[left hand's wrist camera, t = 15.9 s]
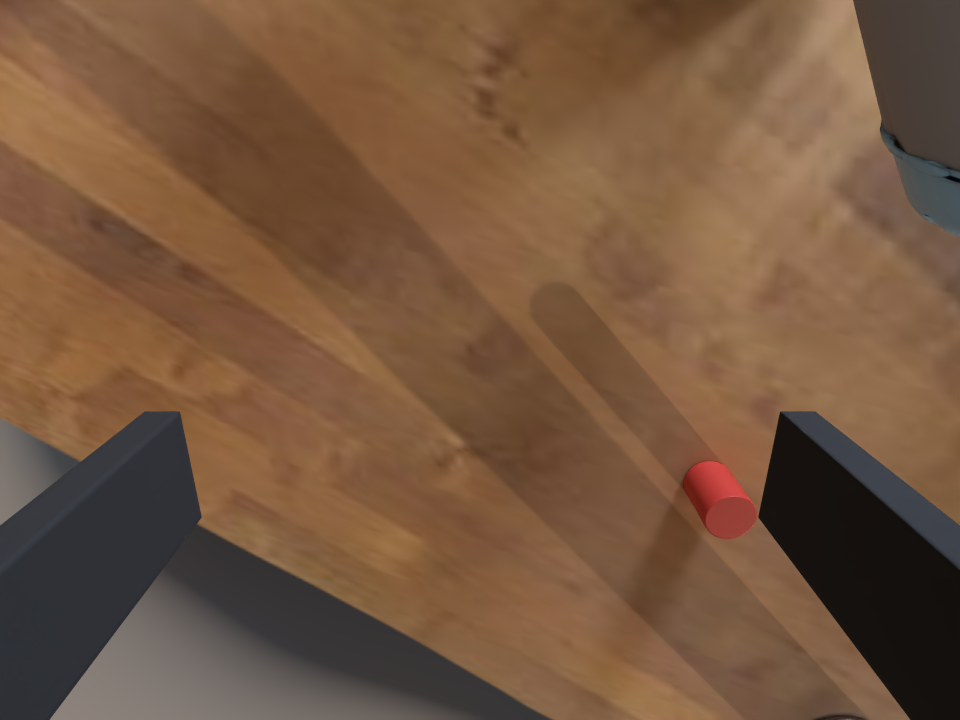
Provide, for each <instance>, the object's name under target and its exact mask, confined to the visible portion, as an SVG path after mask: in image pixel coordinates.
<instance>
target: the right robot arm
mask: <svg viewBox="0 0 960 720" xmlns="http://www.w3.org/2000/svg"><path fill="white" fill-rule="evenodd" d="M820 720H864V719H861V718H858V717H853V716H833V717H827V718H823V719H820Z"/></svg>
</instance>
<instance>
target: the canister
mask: <svg viewBox="0 0 960 720" xmlns="http://www.w3.org/2000/svg"><path fill="white" fill-rule="evenodd" d="M684 489H685V492H686V493H687V495H688V497H689V499H690V500H691V502H692V504H693V506H694V507H695V509H696V511H697V513H698V514H699V516H700V518H701V520H702V521H703V523H704V525H705V527H706V528H707V530H708V531H709V532H710V533H711V534H712V535H714V536H716V537H718V538H722V539H732V538H737V537H739V536H742V535H744V534H745V533H747V532H748V531H749V530H750V529H751V528H752V527H753V525H754V524H755V521H756V518H757V511H756V508H755V505H754V504H753V503H752V501H751V500H750V499H749V497H748V496H747V495H746V493H745V492H744V490H743V489H742V488H741V486H740V485H739V484H738V482H737V481H736V480H735V478H734V477H733V476H732V474H731V473H730V472H729V470H728V469H727V468H726V467H725V466H724V465H723V464H721V463H718V462H714V461H705V462H701V463H699V464H696V465H695V466H693V467H692V468H691V469H690V470H689V471H688V472H687V474H686V476H685V478H684Z"/></svg>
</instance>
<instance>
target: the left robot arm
mask: <svg viewBox="0 0 960 720" xmlns="http://www.w3.org/2000/svg"><path fill="white" fill-rule="evenodd" d="M853 2H854V6H855V10H856V14H857V18H858V22H859V27H860V31H861V35H862V39H863V43H864V47H865V51H866V56H867V60H868V64H869V68H870V72H871V76H872V80H873V85H874V89H875V93H876V97H877V101H878V105H879V110H880V114H881V118H882V121H881V127H880V133H881V137H882V140H883V142H884V144H885V145H886V147H887V148H888V150H889V151H890V152H891V153H893V155H894V158H895V161H896V164H897V167H898V170H899V174H900V177H901V180H902V183H903V186H904V189H905V192H906V195H907V198H908V200H909V202H910V203H911V205H912V206H913V208H914V209H915V210H916V211H917V213H918V214H919V215H920V216H922V217H923V218H924V219H926V220H928V221H930V222H932V223H934V224H936V225H938V226H940V227H942V228H943V229H944V230H945V231H946V232H949V233H951V234H953V235H956V236H959V237H960V0H853ZM200 519H201V512H200V507H199V502H198V497H197V492H196V488H195V483H194V478H193V473H192V468H191V463H190V459H189V454H188V449H187V444H186V439H185V434H184V430H183V425H182V420H181V415H180V412H144V413H142V414H141V415H140V416H139V417H137V418H136V419H135V420H133V421H132V422H131V423H130V424H128V425H127V426H126V427H125V428H123V429H122V430H121V431H120V432H118V433H117V434H116V435H114V436H113V437H112V438H111V439H109V440H108V441H107V442H106V443H104V444H103V445H102V446H101V447H99V448H98V449H97V450H95V451H94V452H93V453H92V454H90V455H89V456H88V457H87V458H85V459H84V460H83V461H82V462H80V463H79V464H78V465H76V466H75V467H74V468H73V469H71V470H70V471H69V472H68V473H66V474H65V475H64V476H63V477H61V478H60V479H59V480H57V481H56V482H55V483H54V484H52V485H51V486H50V487H49V488H47V489H46V490H45V491H43V492H42V493H41V494H40V495H38V496H37V497H36V498H35V499H33V500H32V501H31V502H30V503H28V504H27V505H26V506H24V507H23V508H22V509H21V510H19V511H18V512H17V513H16V514H14V515H13V516H12V517H11V518H9V519H8V520H7V521H5V522H4V523H3V524H2V525H0V720H50V718H51V717H52V716H53V714H54V713H55V712H56V710H57V709H58V708H59V706H60V705H61V704H62V702H63V701H64V700H65V698H66V697H67V696H68V694H69V693H70V692H71V690H72V689H73V688H74V686H75V685H76V684H77V682H78V681H79V680H80V678H81V677H82V676H83V674H84V673H85V672H86V670H87V669H88V668H89V666H90V665H91V664H92V662H93V661H94V660H95V658H96V657H97V656H98V654H99V653H100V652H101V650H102V649H103V648H104V646H105V645H106V644H107V643H108V641H109V640H110V638H111V637H112V636H113V635H114V633H115V632H116V631H117V629H118V628H119V627H120V625H121V624H122V623H123V621H124V620H125V619H126V617H127V616H128V615H129V613H130V612H131V611H132V609H133V608H134V606H135V605H136V604H137V603H138V601H139V600H140V599H141V597H142V596H143V595H144V593H145V592H146V591H147V589H148V588H149V587H150V585H151V584H152V583H153V581H154V580H155V579H156V577H157V576H158V575H159V573H160V572H161V571H162V569H163V568H164V567H165V565H166V564H167V563H168V561H169V560H170V559H171V557H172V556H173V555H174V553H175V552H176V551H177V549H178V548H179V547H180V545H181V544H182V543H183V541H184V540H185V539H186V537H187V536H188V535H189V533H190V532H191V531H192V529H193V528H194V527H195V525H196V524H197V523H198V521H199V520H200ZM759 519H760V520H761V521H762V523H763V524H764V525H765V527H766V528H767V529H768V531H769V532H770V533H771V535H772V536H773V537H774V539H775V540H776V541H777V543H778V544H779V545H780V547H781V548H782V549H783V551H784V552H785V553H786V555H787V556H788V557H789V559H790V560H791V561H792V563H793V564H794V565H795V567H796V568H797V569H798V571H799V572H800V573H801V575H802V576H803V577H804V579H805V580H806V581H807V583H808V584H809V585H810V587H811V588H812V589H813V591H814V592H815V593H816V595H817V596H818V597H819V599H820V600H821V601H822V603H823V604H824V605H825V607H826V608H827V609H828V611H829V612H830V613H831V615H832V616H833V617H834V619H835V620H836V621H837V623H838V624H839V625H840V627H841V628H842V629H843V631H844V632H845V633H846V635H847V636H848V637H849V639H850V640H851V641H852V643H853V644H854V645H855V646H856V648H857V649H858V650H859V652H860V653H861V654H862V656H863V657H864V658H865V660H866V661H867V662H868V664H869V665H870V666H871V668H872V669H873V670H874V672H875V673H876V674H877V676H878V677H879V678H880V680H881V681H882V682H883V684H884V685H885V686H886V688H887V689H888V690H889V692H890V693H891V694H892V696H893V697H894V698H895V700H896V701H897V702H898V704H899V705H900V706H901V708H902V709H903V710H904V712H905V713H906V714H907V716H908V717H909V718H910V720H960V525H958V524H957V523H956V522H955V521H953V520H952V519H951V518H949V517H948V516H947V515H946V514H944V513H943V512H942V511H941V510H939V509H938V508H937V507H936V506H934V505H933V504H932V503H930V502H929V501H928V500H927V499H925V498H924V497H923V496H922V495H920V494H919V493H918V492H917V491H915V490H914V489H913V488H911V487H910V486H909V485H908V484H906V483H905V482H904V481H903V480H901V479H900V478H899V477H897V476H896V475H895V474H894V473H892V472H891V471H890V470H889V469H887V468H886V467H885V466H884V465H882V464H881V463H880V462H878V461H877V460H876V459H875V458H873V457H872V456H871V455H870V454H868V453H867V452H866V451H865V450H863V449H862V448H861V447H859V446H858V445H857V444H856V443H854V442H853V441H852V440H851V439H849V438H848V437H847V436H846V435H844V434H843V433H842V432H840V431H839V430H838V429H837V428H835V427H834V426H833V425H832V424H830V423H829V422H828V421H827V420H825V419H824V418H823V417H821V416H820V415H819V414H818V413H816V412H780V415H779V420H778V425H777V430H776V434H775V439H774V444H773V449H772V454H771V459H770V463H769V468H768V473H767V478H766V483H765V488H764V492H763V497H762V502H761V507H760V512H759Z"/></svg>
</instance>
